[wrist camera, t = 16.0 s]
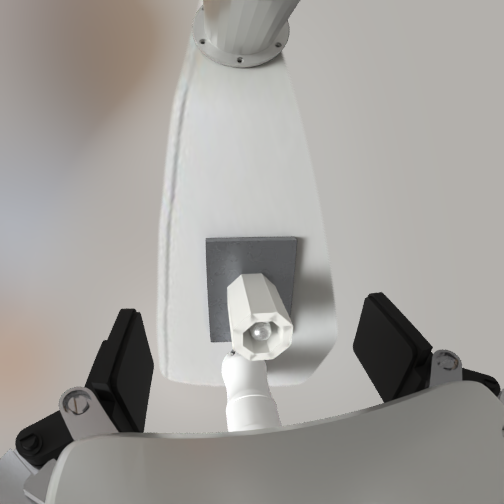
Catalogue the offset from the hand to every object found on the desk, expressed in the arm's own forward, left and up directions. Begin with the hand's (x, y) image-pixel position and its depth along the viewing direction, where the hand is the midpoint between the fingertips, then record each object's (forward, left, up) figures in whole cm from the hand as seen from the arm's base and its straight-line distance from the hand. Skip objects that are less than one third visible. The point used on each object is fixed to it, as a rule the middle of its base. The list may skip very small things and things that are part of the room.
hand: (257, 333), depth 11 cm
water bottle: (+25, +2, -27) cm, 37 cm away
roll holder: (+12, +3, -27) cm, 30 cm away
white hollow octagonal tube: (+12, +3, -25) cm, 28 cm away
